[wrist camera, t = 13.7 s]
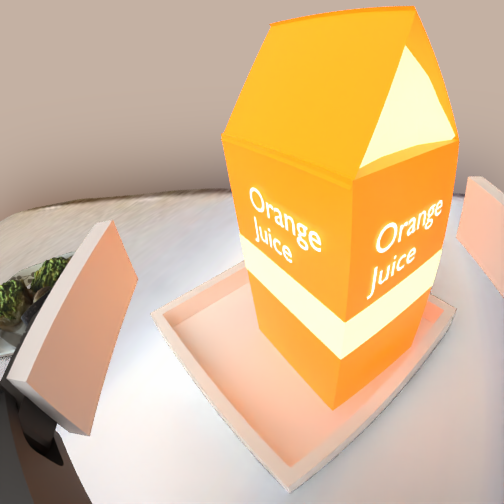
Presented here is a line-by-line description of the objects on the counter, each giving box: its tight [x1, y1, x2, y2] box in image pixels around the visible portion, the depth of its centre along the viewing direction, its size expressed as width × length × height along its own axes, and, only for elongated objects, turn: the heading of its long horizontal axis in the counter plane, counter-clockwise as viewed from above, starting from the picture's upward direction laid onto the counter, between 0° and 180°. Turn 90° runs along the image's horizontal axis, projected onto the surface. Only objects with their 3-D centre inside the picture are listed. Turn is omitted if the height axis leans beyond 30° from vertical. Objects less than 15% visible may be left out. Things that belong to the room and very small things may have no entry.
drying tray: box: [150, 260, 457, 493], centre depth 22 cm, size 17×17×2 cm
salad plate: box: [0, 251, 76, 357], centre depth 28 cm, size 19×18×5 cm
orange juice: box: [221, 6, 459, 411], centre depth 15 cm, size 8×9×20 cm
